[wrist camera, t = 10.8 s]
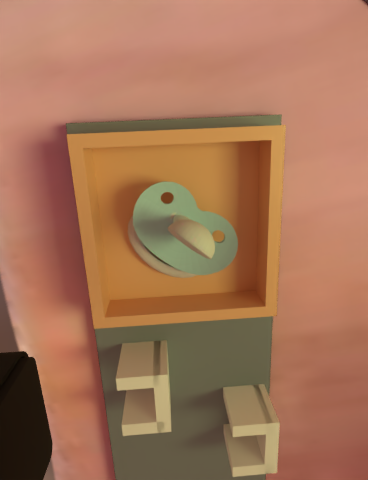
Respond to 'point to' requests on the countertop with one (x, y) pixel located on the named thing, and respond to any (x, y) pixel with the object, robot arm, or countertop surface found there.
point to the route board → (189, 378)
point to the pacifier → (179, 233)
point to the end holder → (189, 176)
